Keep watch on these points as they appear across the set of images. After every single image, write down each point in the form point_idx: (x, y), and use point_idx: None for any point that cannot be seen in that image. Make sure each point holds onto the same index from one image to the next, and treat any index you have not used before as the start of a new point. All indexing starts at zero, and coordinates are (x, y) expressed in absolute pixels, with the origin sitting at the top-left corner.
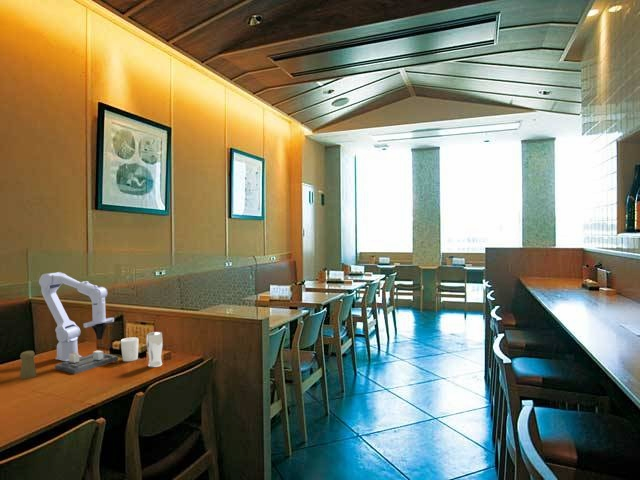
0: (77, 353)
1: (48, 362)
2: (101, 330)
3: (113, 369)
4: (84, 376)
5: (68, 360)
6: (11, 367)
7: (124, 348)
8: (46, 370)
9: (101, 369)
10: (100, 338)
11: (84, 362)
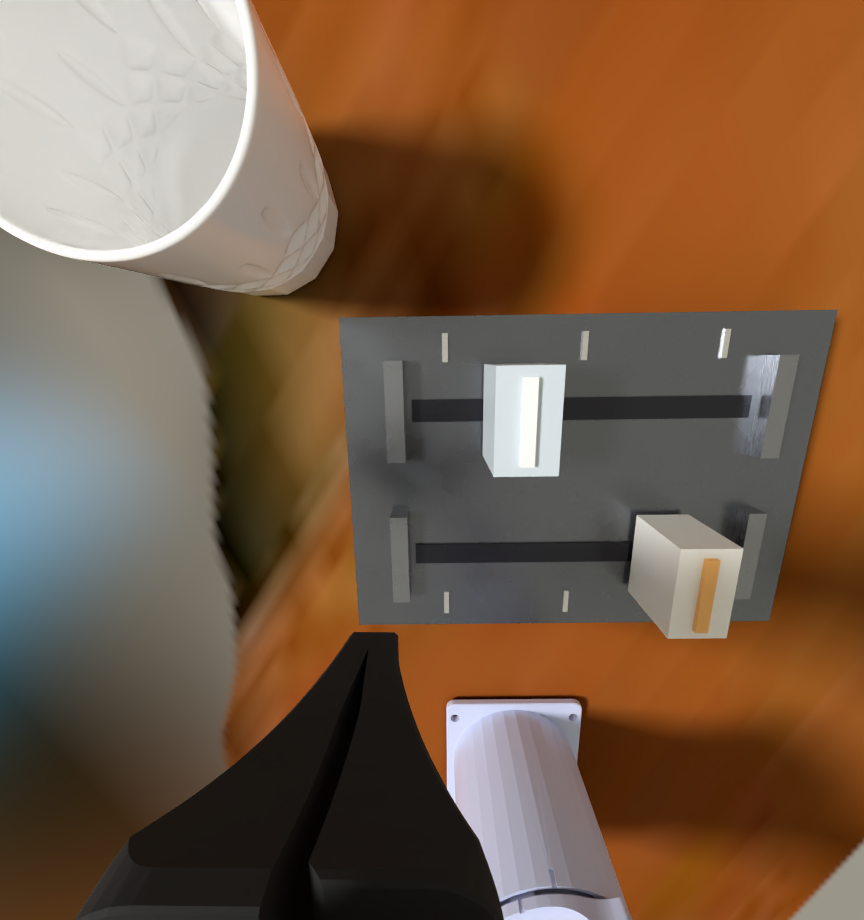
0: (676, 578)
1: (635, 786)
2: (328, 771)
3: (566, 50)
4: (826, 142)
5: (560, 700)
6: (792, 880)
7: (293, 104)
8: (780, 630)
9: (612, 192)
10: (382, 639)
11: (631, 446)
